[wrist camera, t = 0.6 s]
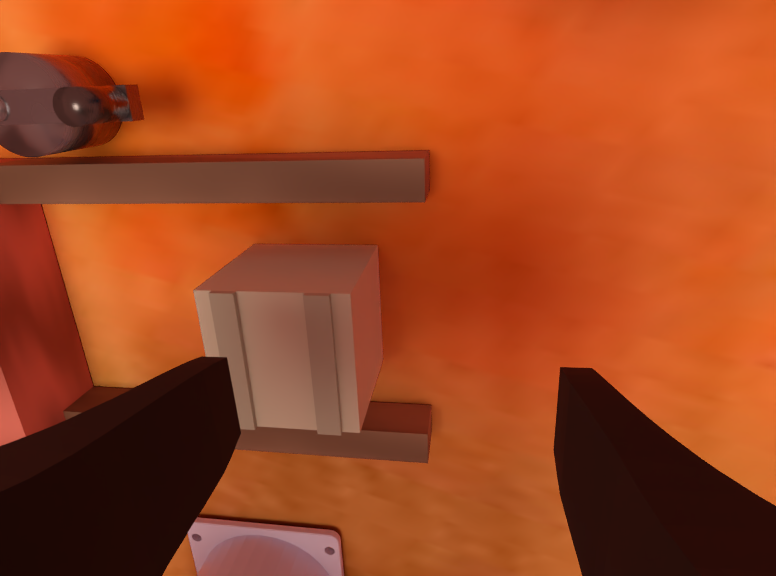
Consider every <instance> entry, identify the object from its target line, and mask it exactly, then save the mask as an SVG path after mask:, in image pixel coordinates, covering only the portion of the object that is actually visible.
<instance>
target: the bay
mask: <svg viewBox="0 0 776 576" xmlns="http://www.w3.org/2000/svg"><path fill="white" fill-rule="evenodd" d="M429 190H430V180H429V150H418V151H367V152H316V153H265V154H214V155H162V156H111V157H60V158H9V159H0V446H2V445H5V444H7V443H10V442H13V441H15V440H18V439H20V438H23V437H26V436H28V435H31V434H34V433H36V432H39V431H41V430H44V429H46V428H48V427H51V426H53V425H56V424H58V423H60V422H63V421H65V420H67V419H69V418H72V417H74V416H76V415H78V414H80V413H82V412H85V411H87V410H89V409H91V408H93V407H95V406H97V405H100V404H102V403H104V402H106V401H108V400H110V399H113V398H115V397H117V396H119V395H121V394H123V393H125V392H127V391H129V390H131V388H113V387H95V386H93V383H92V380H91V377H90V373H89V370H88V366H87V363H86V359H85V356H84V352H83V349H82V345H81V342H80V338H79V335H78V331H77V328H76V325H75V321H74V318H73V314H72V311H71V307H70V304H69V300H68V297H67V293H66V290H65V286H64V283H63V279H62V276H61V273H60V269H59V266H58V262H57V259H56V255H55V252H54V248H53V245H52V241H51V238H50V234H49V231H48V228H47V224H46V221H45V217H44V214H43V210H42V207H41V204H141V203H368V202H425V201H426V198H427V195H428V193H429ZM240 430H241V435H240V437H239V440H238V442H237V444H236V447H235V449H238V450H252V451H266V452H280V453H293V454H307V455H321V456H335V457H349V458H363V459H377V460H391V461H405V462H419V463H428V458H429V450H430V441H431V432H432V428H431V405H423V404H405V403H386V402H370V403H369V406H368V409H367V412H366V416H365V419H364V422H363V425H362V428H361V432H360V433H352V432H342V434H341V436H338V435H323V434H318V433H317V430H305V429H289V428H274V427H258V426H257V427H256V429H255V430H246V429H240Z"/></svg>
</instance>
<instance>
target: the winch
mask: <svg viewBox="0 0 776 576" xmlns="http://www.w3.org/2000/svg"><path fill="white" fill-rule="evenodd" d="M137 120H144V116H143V111H142V106H141V101H140V96H139V91H138V86H137V85H115V84H114V82H113V81H112V79H111V78H110V76H109V75H108V74H107V73H106V72H105V71H104V70H103V69H102V68H101V67H100V66H99V65H98V64H96V63H94V62H93V61H91V60H89V59H87V58H84V57H80V56H69V55H50V54H30V53H11V52H1V53H0V145H1V146H3V147H4V148H6V149H7V150H9V151H11V152H13V153H15V154H18V155H20V156H25V157H40V156H45V155H50V154H56V153H61V152H67V151H72V150H77V149H83V148H88V147H94V146H99V145H102V144H105V143H107V142H108V141H110V140H111V139H112V138H113V137H114V136H115V135H116V133H117V131H118V130H119V127H120V124H121V121H137Z"/></svg>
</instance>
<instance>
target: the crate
mask: <svg viewBox="0 0 776 576" xmlns="http://www.w3.org/2000/svg"><path fill="white" fill-rule="evenodd" d="M193 291H194V297H195V302H196V307H197V313H198V318H199V323H200V328H201V334H202V339H203V344H204V349H205V355H206V357H227V360H228V365H229V370H230V376H231V381H232V387H233V392H234V397H235V403H236V408H237V413H238V419H239V424H240V429H246V430H255V429H256V427H257V426H258V427H274V428H289V429H305V430H317V433H318V434H323V435H338V436H341V434H342V432H352V433H360V432H361V428H362V425H363V422H364V419H365V416H366V412H367V409H368V406H369V403H370V400H371V397H372V393H373V390H374V387H375V384H376V381H377V378H378V374H379V371H380V368H381V365H382V362H383V343H382V322H381V300H380V279H379V257H378V245H335V244H253V245H252V246H251V247H249V248H248V249H247V250H245V251H244V252H243V253H241V254H240V255H239V256H238V257H236V258H235V259H234V260H232V261H231V262H230V263H228V264H227V265H226V266H224V267H223V268H222V269H221V270H219V271H218V272H217V273H215V274H214V275H213V276H211V277H210V278H209V279H207V280H206V281H205V282H204V283H202V284H201V285H200V286H198V287H197V288H196V289H194V290H193Z"/></svg>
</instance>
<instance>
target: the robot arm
mask: <svg viewBox="0 0 776 576" xmlns="http://www.w3.org/2000/svg"><path fill="white" fill-rule="evenodd" d="M240 435H241V430H240V424H239V419H238V413H237V408H236V403H235V397H234V392H233V387H232V381H231V376H230V370H229V365H228V360H227V357H199V358H196V359H194V360H191V361H189V362H186V363H184V364H182V365H180V366H177V367H175V368H173V369H171V370H169V371H167V372H165V373H163V374H161V375H159V376H157V377H155V378H153V379H151V380H149V381H147V382H145V383H143V384H141V385H139V386H137V387H135V388H133V389H131V390H129V391H127V392H125V393H123V394H121V395H119V396H117V397H115V398H113V399H110V400H108V401H106V402H104V403H102V404H100V405H97V406H95V407H93V408H91V409H89V410H87V411H85V412H82V413H80V414H78V415H76V416H74V417H72V418H69V419H67V420H65V421H63V422H60V423H58V424H56V425H53V426H51V427H48V428H46V429H44V430H41V431H39V432H36V433H34V434H31V435H28V436H26V437H23V438H20V439H18V440H15V441H13V442H10V443H7V444H5V445H2V446H0V576H162V575H163V573H164V571H165V569H166V568H167V566H168V564H169V562H170V561H171V559H172V557H173V556H174V554H175V553H176V551H177V549H178V548H179V546H180V544H181V543H182V541H183V540H184V538H185V536H186V535H187V533H188V537H189V542H190V546H191V550H192V554H193V558H194V562H195V567H196V571H197V576H344V570H343V559H342V549H341V538H340V536H339V534H338V533H337V532H335V531H333V530H327V529H316V528H305V527H295V526H284V525H274V524H263V523H252V522H242V521H231V520H220V519H210V518H199V517H198V515H199V514H200V512H201V510H202V509H203V507H204V506H205V504H206V502H207V501H208V499H209V497H210V496H211V494H212V492H213V491H214V489H215V487H216V486H217V484H218V482H219V481H220V479H221V477H222V475H223V474H224V472H225V470H226V467H227V465H228V463H229V461H230V459H231V457H232V454H233V452H234V449H235V447H236V444H237V442H238V440H239V437H240ZM554 456H555V463H556V471H557V478H558V484H559V491H560V496H561V500H562V504H563V507H564V511H565V515H566V518H567V522H568V526H569V529H570V533H571V537H572V540H573V544H574V547H575V551H576V554H577V558H578V562H579V565H580V569H581V572H582V576H776V506H775V505H773V504H771V503H770V502H768V501H766V500H765V499H763V498H761V497H759V496H758V495H756V494H754V493H753V492H751V491H750V490H748V489H747V488H745V487H743V486H742V485H740V484H739V483H737V482H736V481H734V480H732V479H731V478H729V477H728V476H726V475H725V474H723V473H722V472H720V471H718V470H717V469H715V468H714V467H713V466H711V465H710V464H708V463H707V462H705V461H704V460H702V459H701V458H700V457H698V456H697V455H696V454H694V453H693V452H692V451H690V450H689V449H688V448H686V447H685V446H684V445H682V444H681V443H679V442H678V441H677V440H675V439H674V438H673V437H672V436H670V435H669V434H668V433H666V432H665V431H664V430H663V429H661V428H660V427H659V426H658V425H657V424H655V423H654V422H653V421H652V420H650V419H649V418H648V417H647V416H646V415H645V414H643V413H642V412H641V411H640V410H639V409H637V408H636V407H635V406H634V405H633V404H632V403H631V402H629V401H628V400H627V399H626V398H625V397H624V396H623V395H622V394H620V393H619V392H618V391H617V390H616V389H615V388H614V387H613V386H612V385H611V384H609V383H608V382H607V381H606V380H605V379H604V378H603V377H602V376H601V375H599V374H598V373H597V372H596V371H595V370H593V369H592V368H568V367H560V377H559V390H558V402H557V415H556V427H555V439H554ZM330 547H331V548H330Z"/></svg>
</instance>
